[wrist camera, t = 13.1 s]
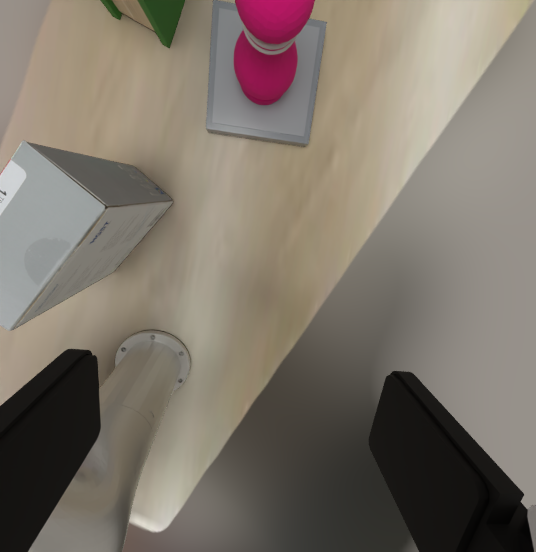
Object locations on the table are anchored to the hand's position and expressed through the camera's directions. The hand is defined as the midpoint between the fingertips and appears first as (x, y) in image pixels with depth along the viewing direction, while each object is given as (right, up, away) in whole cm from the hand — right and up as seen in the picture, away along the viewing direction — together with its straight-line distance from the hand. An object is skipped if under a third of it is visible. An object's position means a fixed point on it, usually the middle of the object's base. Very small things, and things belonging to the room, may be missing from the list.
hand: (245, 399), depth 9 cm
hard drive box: (-21, +12, +33) cm, 41 cm away
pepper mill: (0, +29, +27) cm, 40 cm away
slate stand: (0, +30, +29) cm, 42 cm away
